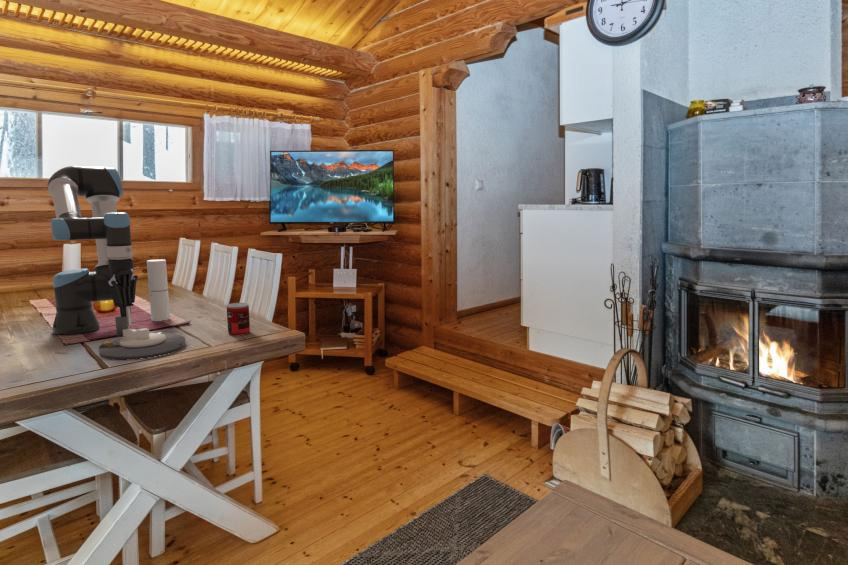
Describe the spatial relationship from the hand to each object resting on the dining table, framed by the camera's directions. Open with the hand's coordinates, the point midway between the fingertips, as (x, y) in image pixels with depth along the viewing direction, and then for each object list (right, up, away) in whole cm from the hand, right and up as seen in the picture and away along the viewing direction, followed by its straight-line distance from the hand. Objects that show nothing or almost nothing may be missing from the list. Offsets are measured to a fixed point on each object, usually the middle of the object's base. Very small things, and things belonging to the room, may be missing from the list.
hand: (126, 324), depth 186 cm
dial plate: (+9, -8, -5) cm, 13 cm away
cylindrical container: (-7, -1, +38) cm, 38 cm away
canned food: (+34, -5, +15) cm, 38 cm away
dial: (+7, -5, -5) cm, 10 cm away
